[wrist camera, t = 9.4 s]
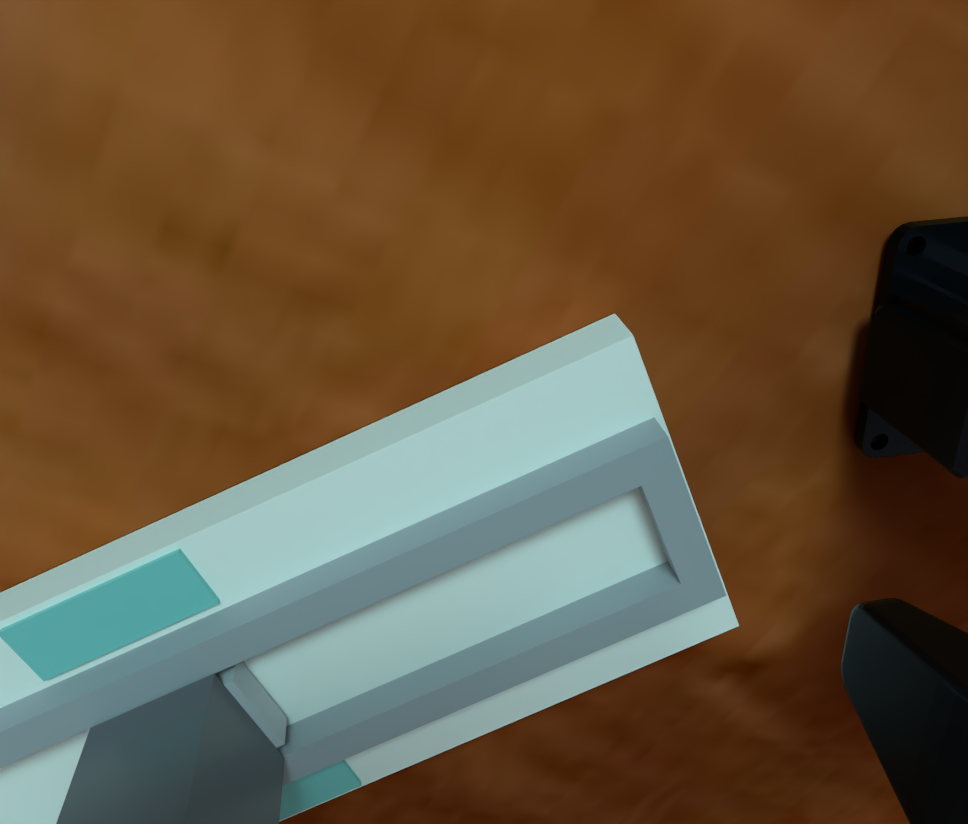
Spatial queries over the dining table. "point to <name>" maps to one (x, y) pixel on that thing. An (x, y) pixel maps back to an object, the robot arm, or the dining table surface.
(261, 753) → the fader
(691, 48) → the dining table surface
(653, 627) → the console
